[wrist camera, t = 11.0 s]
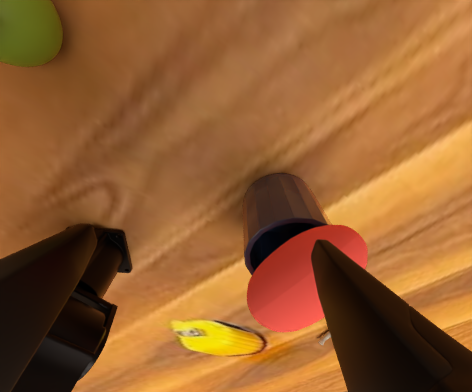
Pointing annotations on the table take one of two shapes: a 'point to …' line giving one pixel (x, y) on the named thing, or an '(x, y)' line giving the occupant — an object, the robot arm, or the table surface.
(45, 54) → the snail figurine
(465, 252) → the table surface
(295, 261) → the stress ball
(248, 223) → the cup
